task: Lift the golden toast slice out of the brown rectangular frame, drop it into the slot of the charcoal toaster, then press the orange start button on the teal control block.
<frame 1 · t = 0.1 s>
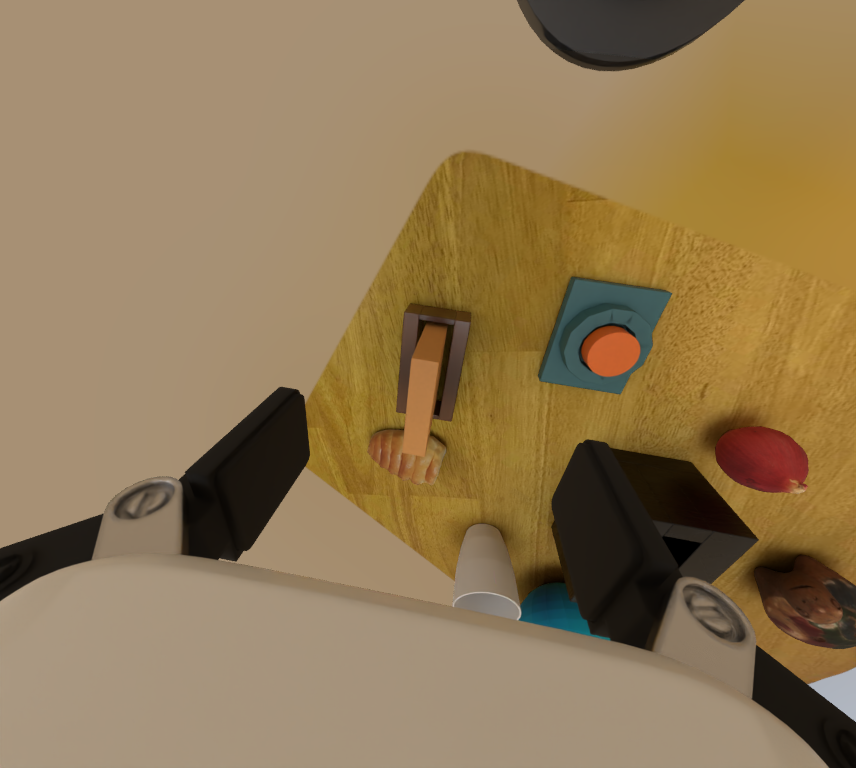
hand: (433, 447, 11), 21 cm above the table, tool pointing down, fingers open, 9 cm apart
pastry: (413, 448, 39), on the table
onion: (728, 432, 32), on the table
toaster: (613, 497, 39), on the table
toast: (427, 381, 28), in the brown rectangular frame
start button: (609, 351, 26), point 3 cm above the table, slide at 0.1 cm
brown rectangular frame: (433, 358, 32), on the table
brown mottled ceramic figure: (784, 571, 41), on the table
cup: (483, 533, 45), on the table
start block: (595, 336, 29), on the table
decorative orb: (556, 587, 50), on the table
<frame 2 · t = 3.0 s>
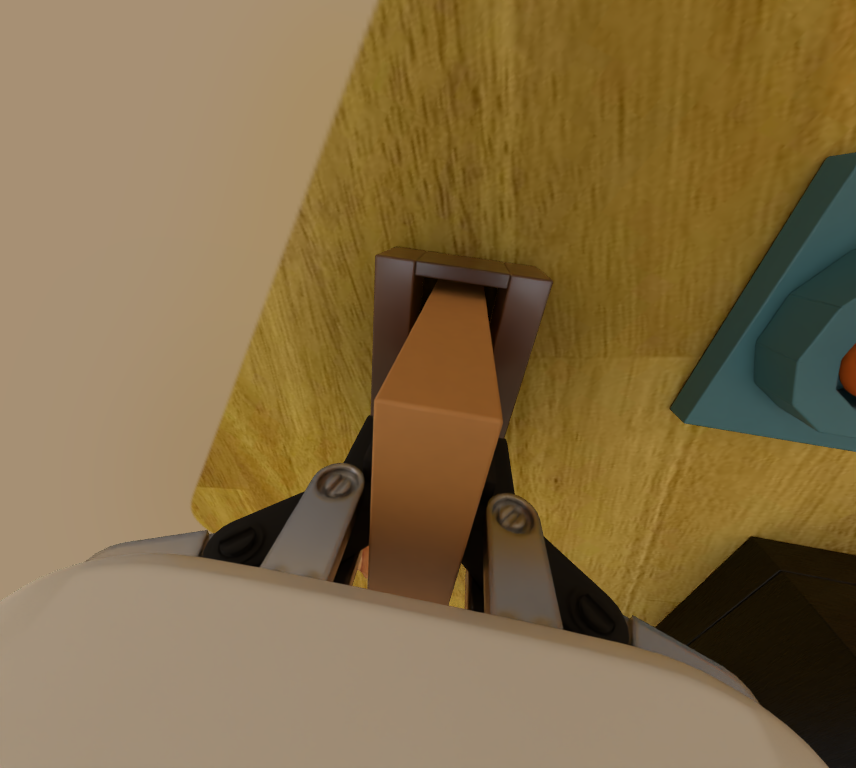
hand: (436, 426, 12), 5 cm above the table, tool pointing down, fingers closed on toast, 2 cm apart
toaster: (764, 615, 22), on the table
toast: (435, 434, 11), in the brown rectangular frame, touching gripper
brown rectangular frame: (445, 372, 15), on the table
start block: (835, 323, 12), on the table
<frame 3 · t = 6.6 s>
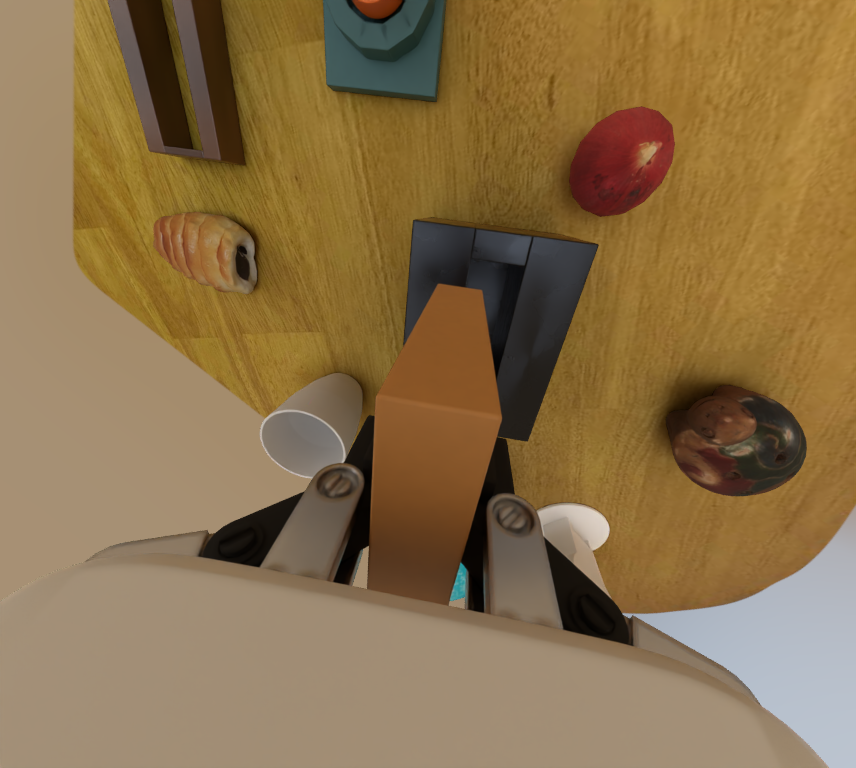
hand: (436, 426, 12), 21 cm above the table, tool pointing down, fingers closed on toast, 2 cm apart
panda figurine: (563, 527, 44), on the table
pastry: (222, 252, 31), on the table
onion: (597, 172, 24), on the table
toaster: (477, 310, 30), on the table
toast: (434, 437, 11), point 21 cm above the table, touching gripper
brown rectangular frame: (195, 75, 24), on the table
brown mottled ceramic figure: (704, 419, 33), on the table
cup: (343, 390, 37), on the table
decorative orb: (445, 470, 41), on the table
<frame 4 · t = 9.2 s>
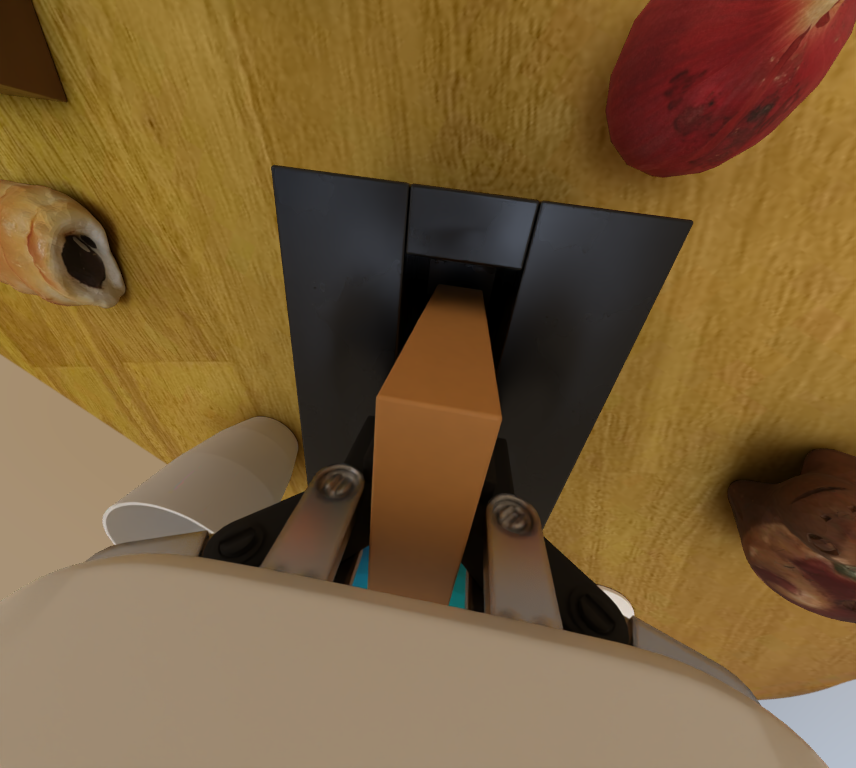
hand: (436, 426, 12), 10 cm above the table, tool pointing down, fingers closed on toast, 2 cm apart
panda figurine: (572, 608, 34), on the table
pastry: (69, 245, 20), on the table
onion: (649, 105, 14), on the table
toaster: (451, 335, 20), on the table
toast: (434, 437, 11), point 10 cm above the table, touching gripper
brown mottled ceramic figure: (782, 490, 23), on the table
cup: (271, 438, 27), on the table
decorative orb: (418, 538, 31), on the table
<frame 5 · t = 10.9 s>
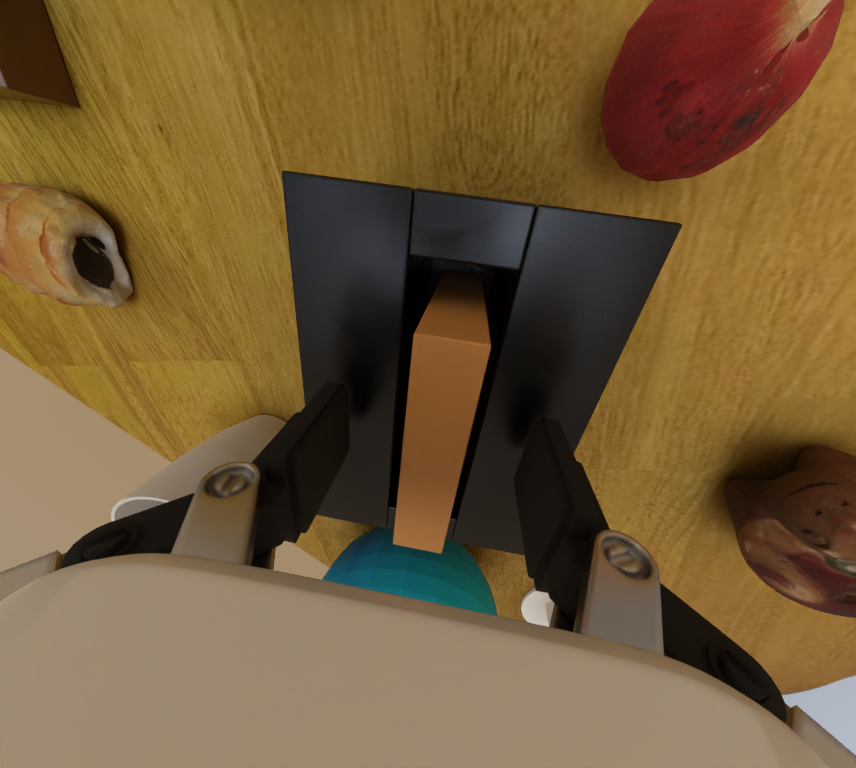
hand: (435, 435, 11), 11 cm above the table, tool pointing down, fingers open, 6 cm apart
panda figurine: (572, 605, 34), on the table
pastry: (78, 246, 21), on the table
onion: (643, 112, 14), on the table
toaster: (452, 334, 20), on the table
toast: (443, 390, 14), in the toaster, point 7 cm above the table
brown mottled ceramic figure: (777, 487, 23), on the table
cup: (275, 436, 27), on the table
decorative orb: (418, 535, 31), on the table
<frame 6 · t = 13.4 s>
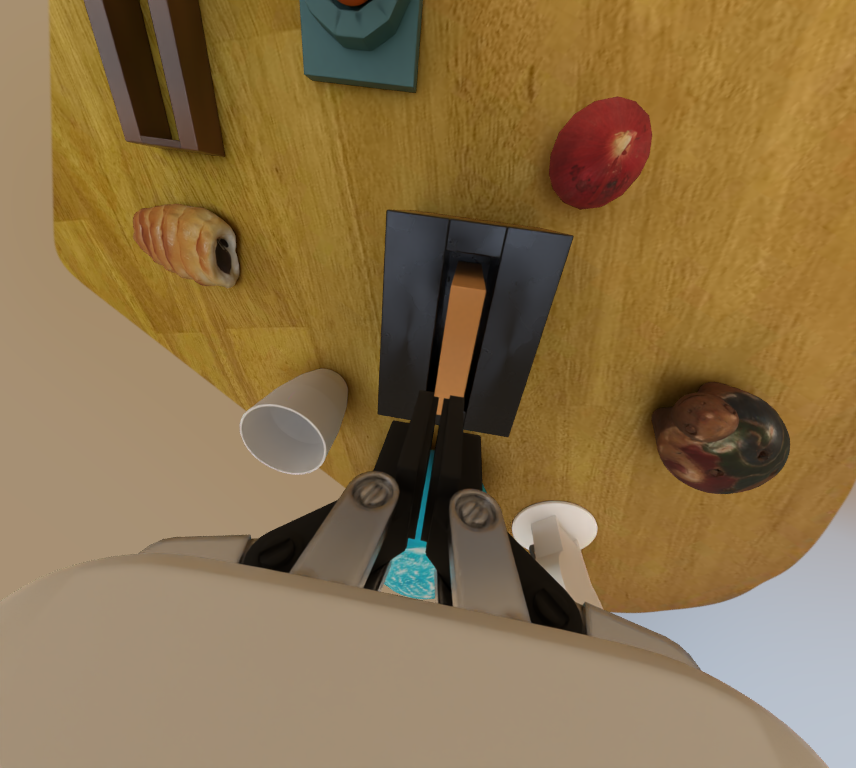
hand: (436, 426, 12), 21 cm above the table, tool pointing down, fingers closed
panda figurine: (551, 525, 43), on the table
pastry: (204, 245, 30), on the table
onion: (578, 165, 24), on the table
toaster: (461, 306, 30), on the table
toast: (458, 332, 24), in the toaster, point 7 cm above the table
brown rectangular frame: (173, 64, 23), on the table
brown mottled ceramic figure: (690, 416, 33), on the table
cup: (328, 386, 37), on the table
decorative orb: (433, 467, 41), on the table
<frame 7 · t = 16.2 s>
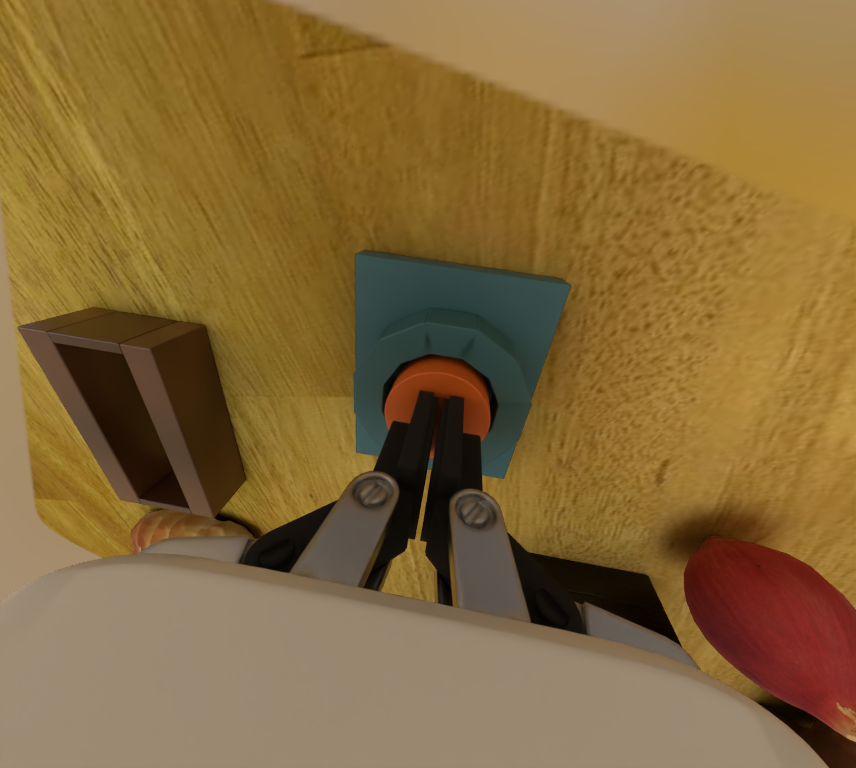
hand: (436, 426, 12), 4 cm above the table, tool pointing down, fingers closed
pastry: (218, 533, 25), on the table
onion: (709, 536, 18), on the table
toaster: (532, 612, 24), on the table
start button: (438, 406, 12), point 3 cm above the table, slide at -0.5 cm, touching gripper
brown rectangular frame: (180, 406, 18), on the table
brown mottled ceramic figure: (798, 711, 27), on the table
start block: (444, 373, 15), on the table
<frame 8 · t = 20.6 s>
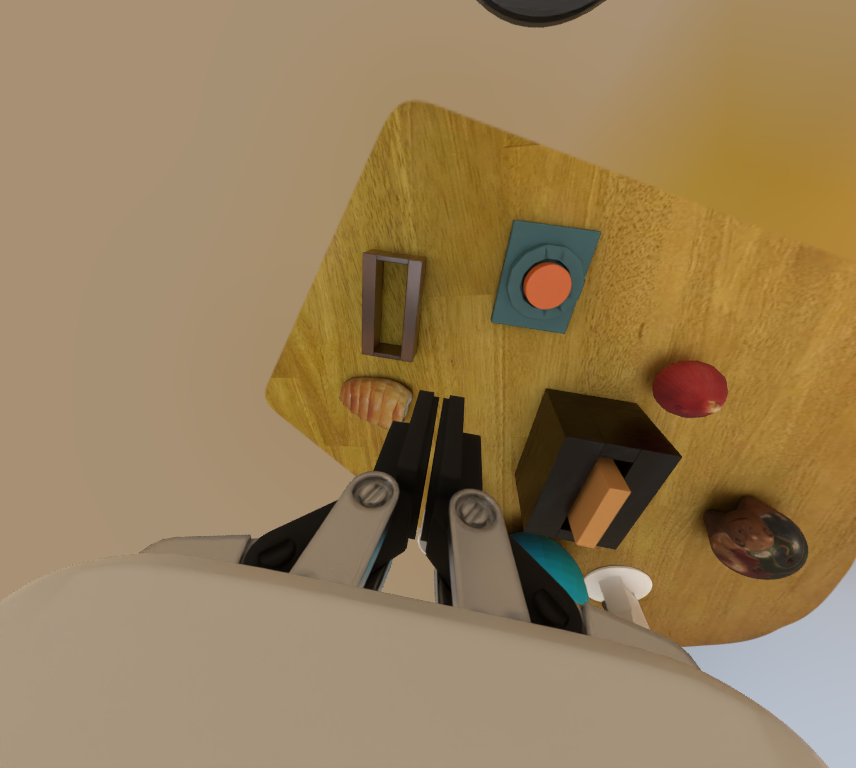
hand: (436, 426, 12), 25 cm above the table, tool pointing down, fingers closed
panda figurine: (614, 582, 55), on the table
pastry: (382, 397, 42), on the table
onion: (666, 372, 35), on the table
toaster: (569, 442, 41), on the table
toast: (585, 482, 35), in the toaster, point 7 cm above the table
start button: (546, 285, 29), point 3 cm above the table, slide at 0.1 cm
brown rectangular frame: (395, 304, 35), on the table
brown mottled ceramic figure: (731, 515, 44), on the table
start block: (539, 278, 32), on the table
decorative orb: (524, 539, 52), on the table
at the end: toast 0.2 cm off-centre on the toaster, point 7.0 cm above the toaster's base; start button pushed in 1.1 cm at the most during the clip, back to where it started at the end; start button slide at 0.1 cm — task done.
